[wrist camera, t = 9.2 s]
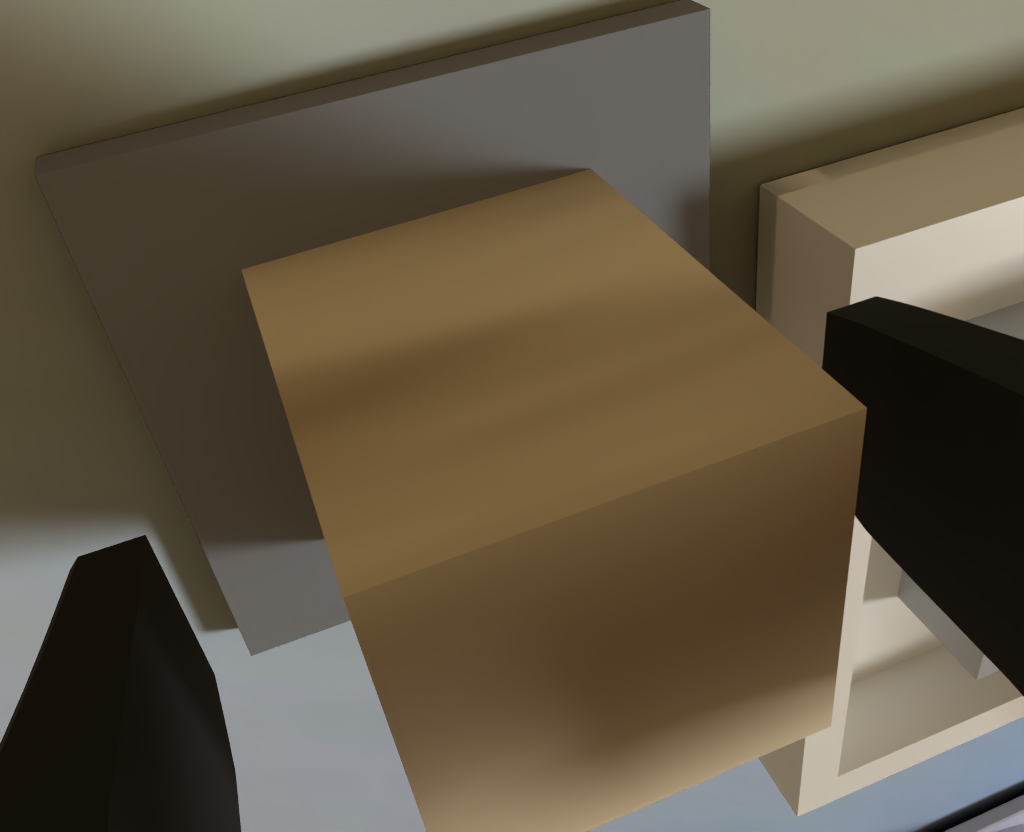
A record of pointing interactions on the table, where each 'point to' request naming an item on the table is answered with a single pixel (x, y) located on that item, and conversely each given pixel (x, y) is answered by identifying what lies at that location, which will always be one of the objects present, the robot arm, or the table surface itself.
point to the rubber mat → (339, 216)
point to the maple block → (566, 502)
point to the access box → (802, 320)
